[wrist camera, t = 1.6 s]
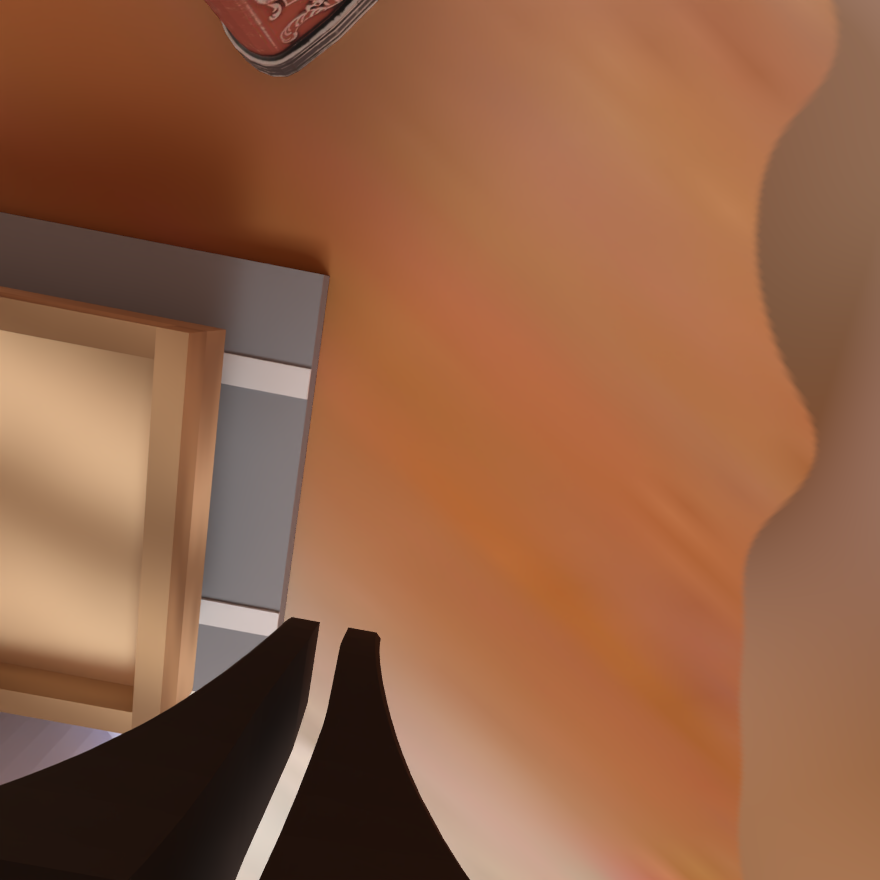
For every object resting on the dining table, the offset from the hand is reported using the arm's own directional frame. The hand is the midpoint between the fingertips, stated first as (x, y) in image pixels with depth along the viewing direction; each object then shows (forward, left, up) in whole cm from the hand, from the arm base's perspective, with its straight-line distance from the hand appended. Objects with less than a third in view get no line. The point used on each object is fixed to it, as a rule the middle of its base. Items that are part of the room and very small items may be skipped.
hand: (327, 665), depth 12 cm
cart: (0, +12, -7) cm, 14 cm away
